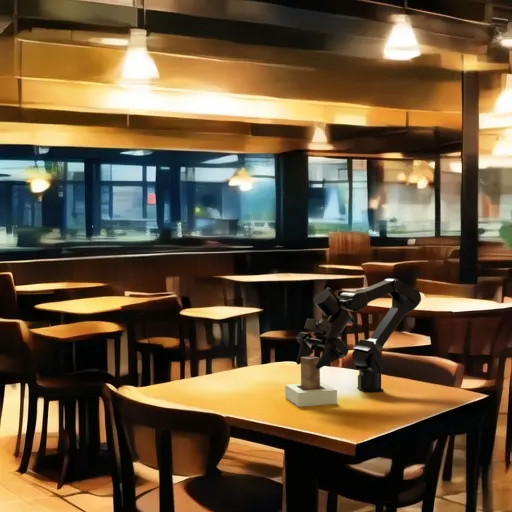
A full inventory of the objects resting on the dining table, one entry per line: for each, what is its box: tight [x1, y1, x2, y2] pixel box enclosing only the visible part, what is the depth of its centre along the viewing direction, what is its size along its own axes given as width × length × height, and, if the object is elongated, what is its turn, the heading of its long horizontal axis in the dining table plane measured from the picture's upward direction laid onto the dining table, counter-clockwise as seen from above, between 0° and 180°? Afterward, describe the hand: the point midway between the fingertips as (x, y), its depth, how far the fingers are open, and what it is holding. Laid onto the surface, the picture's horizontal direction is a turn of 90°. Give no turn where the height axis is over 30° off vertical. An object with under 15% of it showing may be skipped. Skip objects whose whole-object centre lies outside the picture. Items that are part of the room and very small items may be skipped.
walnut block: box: [300, 355, 321, 391], centre depth 220 cm, size 4×4×12 cm
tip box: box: [284, 381, 338, 408], centre depth 221 cm, size 12×12×4 cm
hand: (306, 366), depth 220 cm, fingers open, 9 cm apart
